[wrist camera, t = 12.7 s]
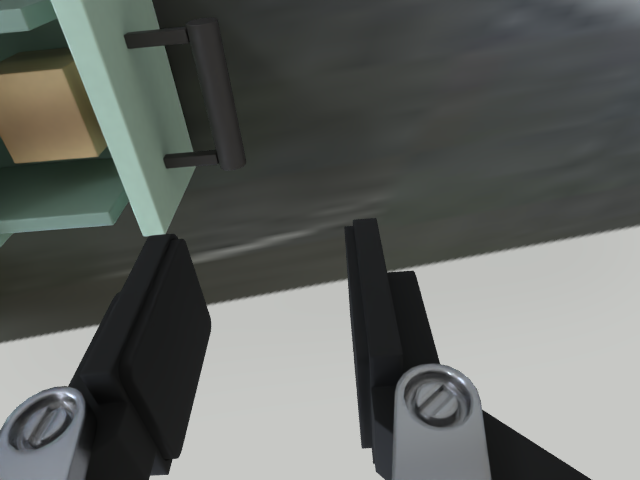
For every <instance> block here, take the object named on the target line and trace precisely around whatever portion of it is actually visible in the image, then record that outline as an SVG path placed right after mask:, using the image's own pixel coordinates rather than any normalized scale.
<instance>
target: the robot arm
mask: <svg viewBox="0 0 640 480" xmlns="http://www.w3.org/2000/svg"><path fill="white" fill-rule="evenodd" d="M345 243H346V258H347V273H348V288H349V302H350V317H351V329H352V341H353V352H354V364H355V375H356V387H357V399H358V410H359V422H360V433H361V445H362V448H372V455H373V463H374V464H375V468H376V472H377V473H378V474H380V475H381V476H382V477H383V478H384V479H385V480H591V479H590V478H588V477H587V476H585V475H584V474H582V473H580V472H579V471H577V470H576V469H574V468H573V467H571V466H569V465H568V464H566V463H565V462H563V461H562V460H560V459H558V458H557V457H555V456H554V455H552V454H551V453H549V452H547V451H546V450H544V449H543V448H541V447H540V446H538V445H537V444H535V443H533V442H532V441H530V440H529V439H527V438H526V437H524V436H522V435H521V434H519V433H517V432H516V431H515V430H513V429H512V428H510V427H508V426H507V425H505V424H503V423H502V422H500V421H499V420H497V419H496V418H494V417H493V416H491V415H490V414H488V413H486V412H485V411H483V410H482V407H481V400H480V397H479V394H478V391H477V389H476V387H475V386H474V385H473V383H472V382H471V380H470V379H469V378H467V377H466V376H465V375H464V374H462V373H461V372H460V371H458V370H456V369H454V368H451V367H449V366H445V365H441V364H440V362H439V358H438V355H437V351H436V347H435V344H434V340H433V336H432V333H431V329H430V325H429V322H428V318H427V314H426V311H425V307H424V304H423V300H422V296H421V292H420V289H419V285H418V282H417V278H416V275H415V272H414V271H403V272H389V273H387V270H386V265H385V260H384V255H383V250H382V245H381V240H380V234H379V229H378V224H377V220H376V218H371V219H358V220H353V226H346V227H345ZM210 332H211V318H210V315H209V312H208V309H207V306H206V302H205V299H204V296H203V293H202V290H201V287H200V284H199V281H198V278H197V275H196V272H195V269H194V266H193V263H192V260H191V257H190V254H189V250H188V247H187V244H186V242H185V240H184V239H178V237H177V236H176V235H175V234H162V235H151V236H149V237H148V239H147V240H146V242H145V244H144V246H143V248H142V250H141V252H140V254H139V256H138V258H137V260H136V262H135V264H134V266H133V268H132V270H131V272H130V274H129V276H128V278H127V280H126V282H125V284H124V286H123V288H122V290H121V292H119V293H117V294H116V295H115V297H114V298H113V300H112V302H111V304H110V306H109V308H108V310H107V312H106V314H105V316H104V318H103V319H102V321H101V323H100V325H99V327H98V329H97V331H96V333H95V335H94V337H93V339H92V341H91V343H90V345H89V347H88V349H87V351H86V353H85V355H84V357H83V359H82V361H81V362H80V364H79V367H78V368H77V370H76V372H75V375H74V376H73V378H72V380H71V382H70V384H69V386H68V387H67V386H62V387H54V388H50V389H47V390H44V391H41V392H39V393H37V394H36V395H33V396H32V397H30V398H28V399H27V400H26V401H24V402H23V403H22V404H20V405H19V406H18V407H17V408H16V409H15V410H14V411H13V412H12V413H11V415H10V416H9V417H8V418H7V420H6V422H5V423H4V425H3V427H2V428H1V430H0V480H149V477H150V475H168V474H169V471H170V466H171V463H172V459H176V458H178V457H179V456H180V454H181V451H182V447H183V443H184V439H185V435H186V430H187V426H188V422H189V418H190V414H191V410H192V406H193V401H194V398H195V393H196V389H197V385H198V381H199V377H200V373H201V369H202V364H203V361H204V357H205V353H206V349H207V344H208V340H209V336H210Z"/></svg>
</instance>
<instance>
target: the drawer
mask: <svg viewBox="0 0 640 480" xmlns="http://www.w3.org/2000/svg"><path fill="white" fill-rule="evenodd" d="M189 42H190V44H191V49H192V53H193V57H194V61H195V65H196V69H197V73H198V78H199V82H200V86H201V90H202V94H203V98H204V102H205V107H206V111H207V115H208V119H209V123H210V127H211V131H212V136H213V140H214V144H215V148H216V150H209V151H197V152H193V148H192V145H191V141H190V137H189V134H188V130H187V127H186V123H185V119H184V116H183V112H182V108H181V105H180V101H179V97H178V94H177V90H176V86H175V83H174V79H173V75H172V72H171V68H170V64H169V61H168V57H167V53H166V50H165V45H176V44H187V43H189ZM68 47H69V49H70V51H71V54H72V56H73V59H74V61H75V64H76V66H77V69H78V72H79V74H80V77H81V79H82V82H83V84H84V87H85V89H86V92H87V94H88V97H89V100H90V102H91V105H92V107H93V110H94V112H95V115H96V117H97V120H98V122H99V125H100V128H101V130H102V133H103V135H104V138H105V140H106V143H107V145H108V146H107V147H106V148H105V149H104V151H103V152H102V153H101V154H100V155H99V156H98V157H89V158H77V159H66V160H54V161H42V162H30V163H18V164H15V163H14V161H13V159H12V157H11V155H10V153H9V151H8V150H7V148H6V146H5V144H4V142H3V140H2V138H1V137H0V234H4V233H16V232H29V231H42V230H55V229H68V228H81V227H94V226H106V225H114V224H115V222H116V221H117V219H118V218H119V216H120V214H121V213H122V211H123V210H124V208H125V206H126V205H127V203H128V202H129V201H130V204H131V207H132V209H133V212H134V214H135V217H136V219H137V222H138V224H139V227H140V229H141V232H142V235H143V236H151V235H162V234H166V232H167V230H168V228H169V225H170V223H171V221H172V219H173V216H174V214H175V212H176V210H177V208H178V205H179V203H180V201H181V199H182V197H183V194H184V192H185V190H186V188H187V186H188V183H189V181H190V179H191V177H192V175H193V172H194V170H195V168H196V166H205V165H217V164H218V163H219V165H220V167H221V169H223V170H236V169H239V168H242V167H243V166H244V165H245V164H246V158H245V153H244V148H243V143H242V138H241V133H240V128H239V123H238V118H237V113H236V108H235V103H234V98H233V94H232V89H231V84H230V79H229V74H228V69H227V64H226V59H225V54H224V49H223V44H222V39H221V34H220V29H219V24H218V20H217V19H216V18H201V19H196V20H192V21H189V22H187V23H186V27H177V28H166V29H160V28H159V24H158V21H157V17H156V13H155V10H154V6H153V2H152V0H0V62H1V61H3V60H5V59H7V58H9V57H11V56H13V55H15V54H17V53H19V52H26V51H37V50H47V49H58V48H68Z"/></svg>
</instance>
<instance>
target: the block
mask: <svg viewBox="0 0 640 480" xmlns="http://www.w3.org/2000/svg"><path fill="white" fill-rule="evenodd" d="M0 137H1V138H2V140H3V142H4V144H5V146H6V148H7V150H8V151H9V153H10V155H11V157H12V159H13V161H14V163H15V164H18V163H30V162H42V161H54V160H66V159H77V158H89V157H98V156H99V155H100V154H101V153H102V152H103V151H104V149H105V148H106V147H107V146H108V145H107V143H106V140H105V138H104V135H103V133H102V130H101V128H100V125H99V122H98V120H97V117H96V115H95V112H94V110H93V107H92V105H91V102H90V100H89V97H88V94H87V92H86V89H85V87H84V84H83V82H82V79H81V77H80V74H79V72H78V69H77V66H76V64H75V61H74V59H73V56H72V54H71V51H70V49H69V47H68V48H58V49H47V50H37V51H26V52H19V53H17V54H15V55H13V56H11V57H9V58H7V59H5V60H3V61H1V62H0Z"/></svg>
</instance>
